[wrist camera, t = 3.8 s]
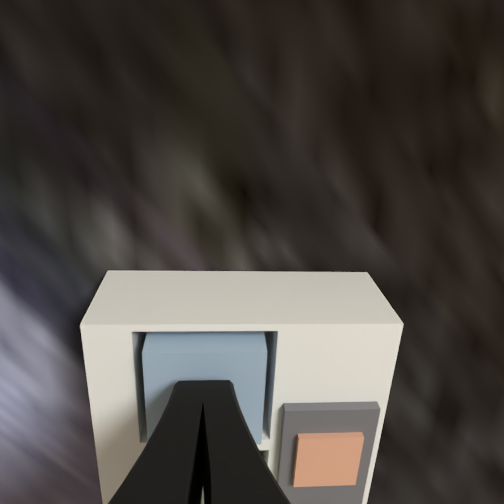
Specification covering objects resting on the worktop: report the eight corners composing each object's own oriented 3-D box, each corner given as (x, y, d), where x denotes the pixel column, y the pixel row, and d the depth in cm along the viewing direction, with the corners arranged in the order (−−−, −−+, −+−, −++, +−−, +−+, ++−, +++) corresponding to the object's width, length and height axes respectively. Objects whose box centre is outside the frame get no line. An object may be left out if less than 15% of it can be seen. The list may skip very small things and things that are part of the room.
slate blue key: (158, 386, 14) (148, 447, 12) (154, 302, 13) (141, 352, 11) (254, 384, 14) (261, 444, 12) (258, 302, 13) (267, 351, 11)
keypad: (132, 537, 18) (114, 639, 15) (107, 270, 13) (73, 336, 10) (326, 529, 19) (348, 625, 16) (367, 272, 14) (411, 334, 11)
